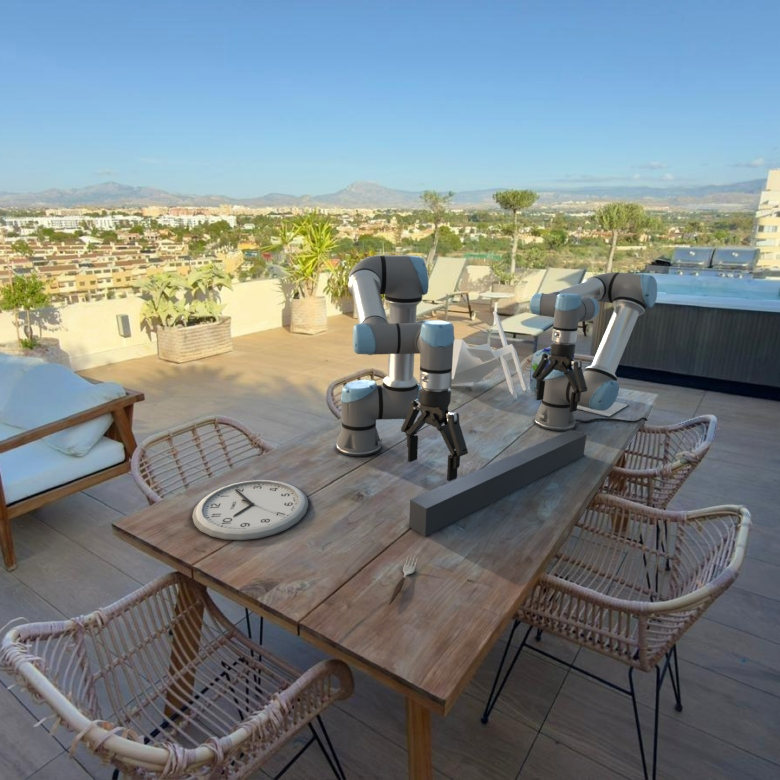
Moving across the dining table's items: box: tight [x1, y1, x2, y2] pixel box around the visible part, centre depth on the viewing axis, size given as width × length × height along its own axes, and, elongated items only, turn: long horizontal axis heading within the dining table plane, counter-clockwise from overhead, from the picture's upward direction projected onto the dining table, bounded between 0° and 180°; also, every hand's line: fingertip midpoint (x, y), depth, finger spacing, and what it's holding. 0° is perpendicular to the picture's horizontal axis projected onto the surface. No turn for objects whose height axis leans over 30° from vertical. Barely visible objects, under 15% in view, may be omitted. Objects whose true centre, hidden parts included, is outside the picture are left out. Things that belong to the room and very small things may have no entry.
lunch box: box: [529, 346, 575, 393], centre depth 245 cm, size 26×11×21 cm, turn 134°
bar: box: [408, 429, 587, 537], centre depth 154 cm, size 76×6×8 cm, turn 131°
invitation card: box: [577, 401, 629, 418], centre depth 226 cm, size 21×1×15 cm
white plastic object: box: [451, 310, 531, 400], centre depth 245 cm, size 37×45×31 cm
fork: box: [388, 554, 419, 606], centre depth 112 cm, size 3×16×2 cm, turn 160°
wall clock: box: [191, 479, 309, 541], centre depth 140 cm, size 30×2×30 cm
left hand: (431, 469), depth 129 cm, fingers open, 13 cm apart
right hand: (555, 405), depth 174 cm, fingers open, 13 cm apart
